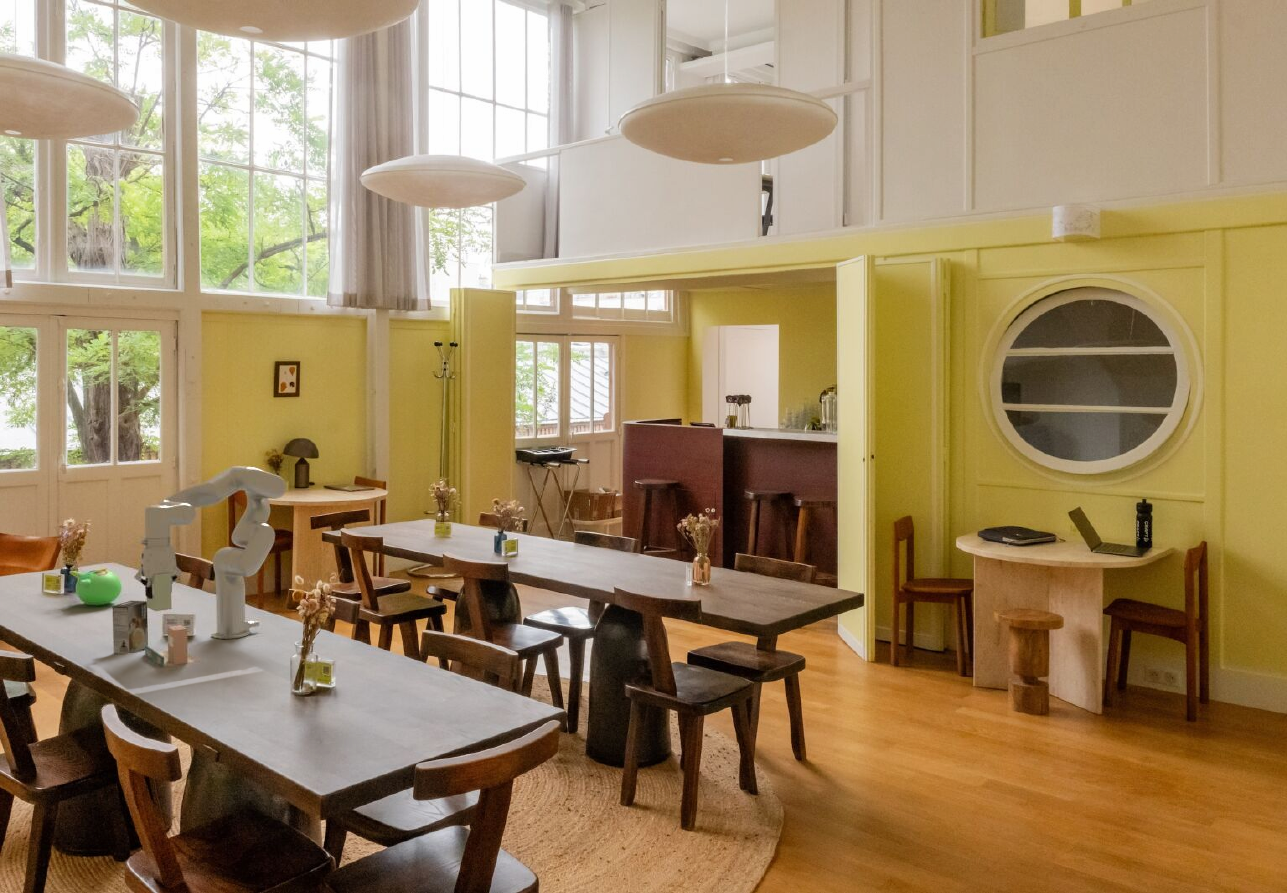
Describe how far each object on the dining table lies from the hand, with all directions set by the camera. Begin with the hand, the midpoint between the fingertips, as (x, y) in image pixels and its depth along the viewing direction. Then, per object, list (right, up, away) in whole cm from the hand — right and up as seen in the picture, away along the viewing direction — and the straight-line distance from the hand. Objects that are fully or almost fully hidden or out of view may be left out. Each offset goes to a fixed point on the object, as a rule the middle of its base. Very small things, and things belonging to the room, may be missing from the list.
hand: (158, 596), depth 326 cm
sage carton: (0, -4, 0) cm, 4 cm away
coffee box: (-12, -19, +4) cm, 23 cm away
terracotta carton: (+12, -19, -13) cm, 26 cm away
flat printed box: (+8, -20, -8) cm, 23 cm away
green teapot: (-59, -14, +69) cm, 92 cm away
